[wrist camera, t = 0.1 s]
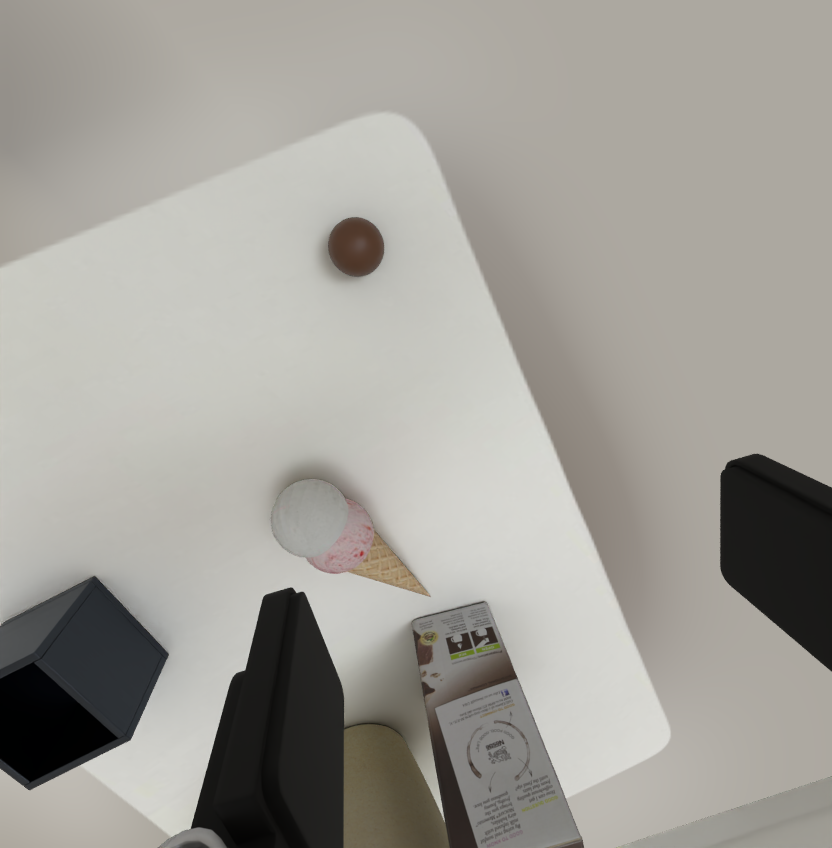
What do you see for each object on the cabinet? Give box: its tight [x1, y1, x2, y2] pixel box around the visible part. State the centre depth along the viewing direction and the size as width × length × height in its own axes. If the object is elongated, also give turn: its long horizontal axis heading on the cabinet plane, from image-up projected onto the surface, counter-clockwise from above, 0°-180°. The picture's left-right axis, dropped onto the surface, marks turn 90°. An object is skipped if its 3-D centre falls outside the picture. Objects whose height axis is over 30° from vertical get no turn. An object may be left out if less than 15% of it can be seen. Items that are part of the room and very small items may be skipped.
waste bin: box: [0, 576, 169, 790], centre depth 30 cm, size 8×7×6 cm
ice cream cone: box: [271, 479, 431, 597], centre depth 32 cm, size 5×5×15 cm
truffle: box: [328, 217, 384, 277], centre depth 25 cm, size 3×3×3 cm
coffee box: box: [412, 602, 584, 848], centre depth 30 cm, size 9×6×16 cm
